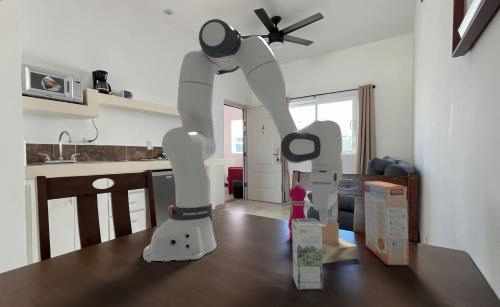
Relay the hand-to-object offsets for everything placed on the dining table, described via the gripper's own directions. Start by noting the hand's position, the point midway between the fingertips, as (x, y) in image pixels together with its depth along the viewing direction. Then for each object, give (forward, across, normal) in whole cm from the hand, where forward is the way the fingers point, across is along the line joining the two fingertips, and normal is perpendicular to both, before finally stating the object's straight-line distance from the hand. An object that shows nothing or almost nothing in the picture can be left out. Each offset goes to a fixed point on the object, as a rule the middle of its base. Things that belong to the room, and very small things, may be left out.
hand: (327, 220), depth 73 cm
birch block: (+10, 0, +1) cm, 10 cm away
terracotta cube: (+6, 0, 0) cm, 6 cm away
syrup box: (+10, +20, -1) cm, 22 cm away
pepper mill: (+10, -9, -11) cm, 18 cm away
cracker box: (+10, -5, +15) cm, 19 cm away
